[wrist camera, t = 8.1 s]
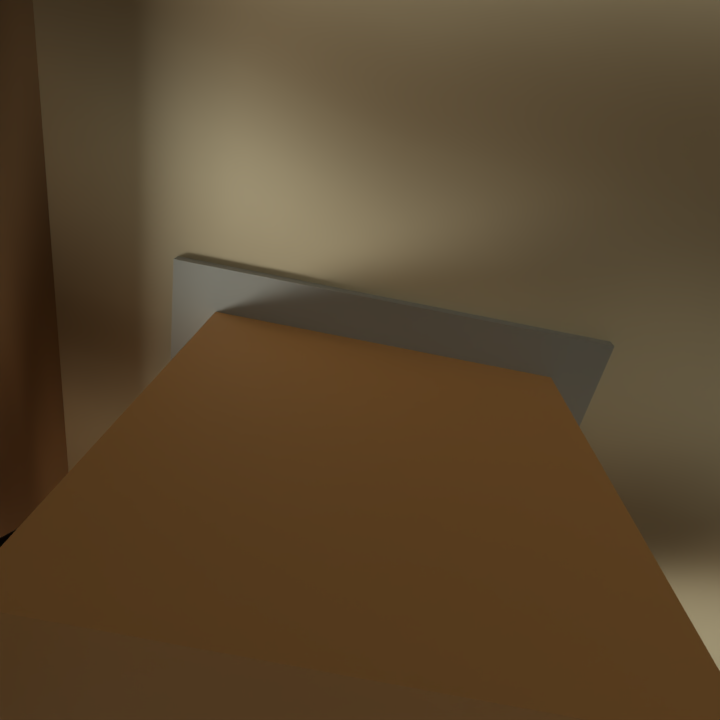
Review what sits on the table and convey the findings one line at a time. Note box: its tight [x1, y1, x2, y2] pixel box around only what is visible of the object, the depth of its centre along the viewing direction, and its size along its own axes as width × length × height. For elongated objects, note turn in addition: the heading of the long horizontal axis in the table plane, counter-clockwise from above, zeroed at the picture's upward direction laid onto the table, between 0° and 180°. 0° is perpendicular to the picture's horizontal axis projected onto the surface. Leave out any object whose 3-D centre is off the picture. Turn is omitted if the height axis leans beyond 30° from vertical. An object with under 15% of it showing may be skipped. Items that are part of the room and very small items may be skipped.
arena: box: [0, 0, 720, 671], centre depth 10 cm, size 16×18×3 cm
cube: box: [0, 312, 720, 720], centre depth 8 cm, size 6×6×6 cm
